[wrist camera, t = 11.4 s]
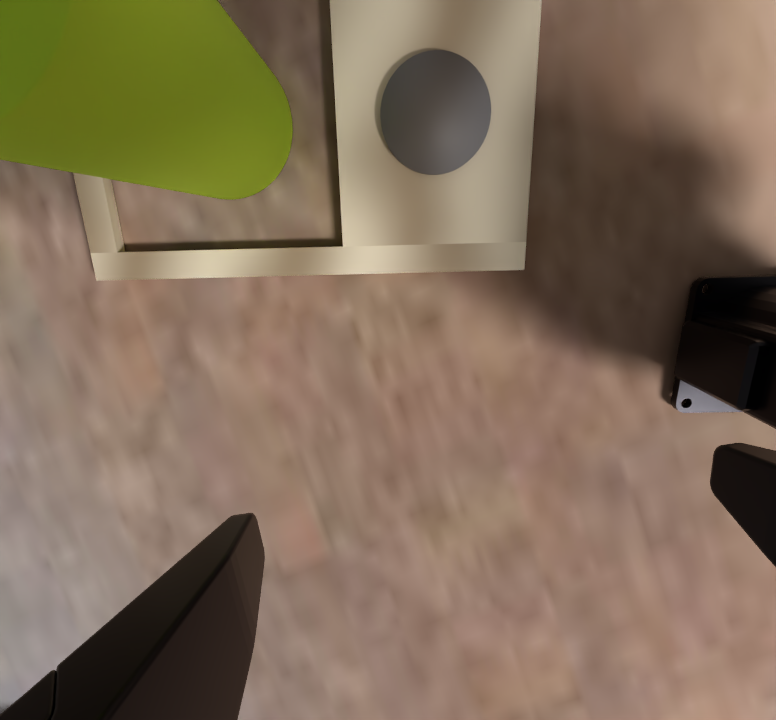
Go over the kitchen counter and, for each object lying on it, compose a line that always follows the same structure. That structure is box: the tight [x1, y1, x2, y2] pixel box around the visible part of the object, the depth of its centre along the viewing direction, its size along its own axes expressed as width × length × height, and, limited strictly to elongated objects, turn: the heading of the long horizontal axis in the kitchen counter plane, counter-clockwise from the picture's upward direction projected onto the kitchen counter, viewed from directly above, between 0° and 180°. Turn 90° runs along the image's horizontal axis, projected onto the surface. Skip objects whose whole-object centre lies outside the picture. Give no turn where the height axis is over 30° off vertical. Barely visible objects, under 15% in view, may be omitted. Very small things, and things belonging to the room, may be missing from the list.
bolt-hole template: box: [73, 0, 542, 281], centre depth 18 cm, size 19×12×1 cm, turn 91°
